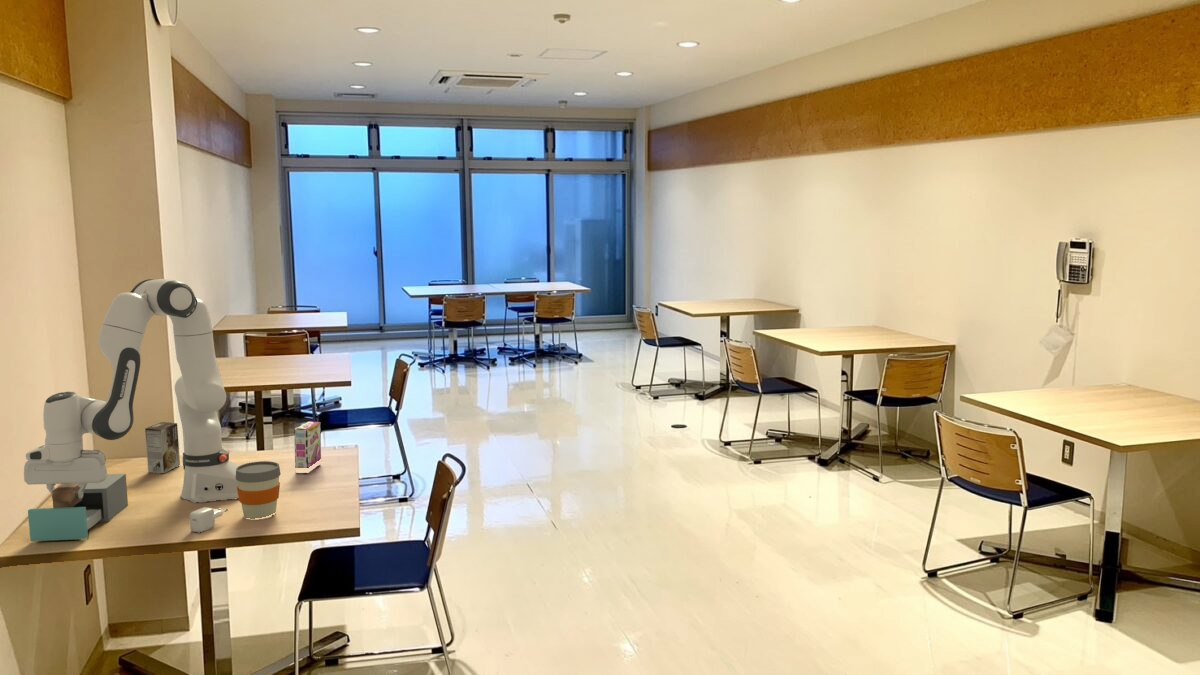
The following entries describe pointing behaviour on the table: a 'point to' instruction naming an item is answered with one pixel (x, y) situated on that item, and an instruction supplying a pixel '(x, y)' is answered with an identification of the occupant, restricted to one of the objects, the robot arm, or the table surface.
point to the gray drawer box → (106, 496)
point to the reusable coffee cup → (258, 488)
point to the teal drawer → (61, 523)
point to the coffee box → (162, 447)
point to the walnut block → (65, 496)
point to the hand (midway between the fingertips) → (67, 498)
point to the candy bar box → (307, 444)
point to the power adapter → (204, 518)
